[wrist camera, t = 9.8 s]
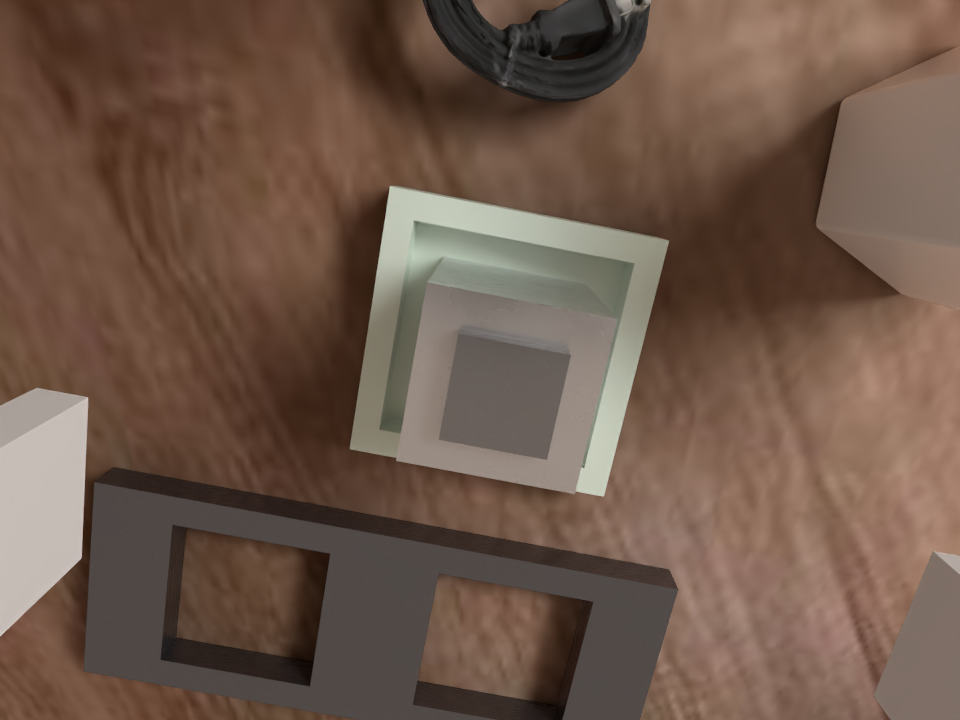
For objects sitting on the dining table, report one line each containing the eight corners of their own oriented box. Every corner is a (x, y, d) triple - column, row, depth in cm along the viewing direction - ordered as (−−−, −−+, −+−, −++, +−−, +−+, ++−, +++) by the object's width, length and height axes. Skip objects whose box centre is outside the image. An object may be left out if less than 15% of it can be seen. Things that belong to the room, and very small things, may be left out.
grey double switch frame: (102, 648, 32) (83, 671, 30) (114, 467, 30) (94, 482, 28) (619, 740, 32) (625, 766, 31) (669, 569, 30) (678, 589, 29)
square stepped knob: (420, 392, 28) (393, 468, 20) (444, 256, 27) (424, 285, 19) (555, 418, 28) (577, 502, 21) (586, 284, 27) (620, 322, 19)
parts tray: (359, 431, 29) (349, 449, 27) (397, 185, 26) (390, 186, 24) (596, 475, 29) (603, 496, 27) (656, 236, 27) (669, 241, 25)
